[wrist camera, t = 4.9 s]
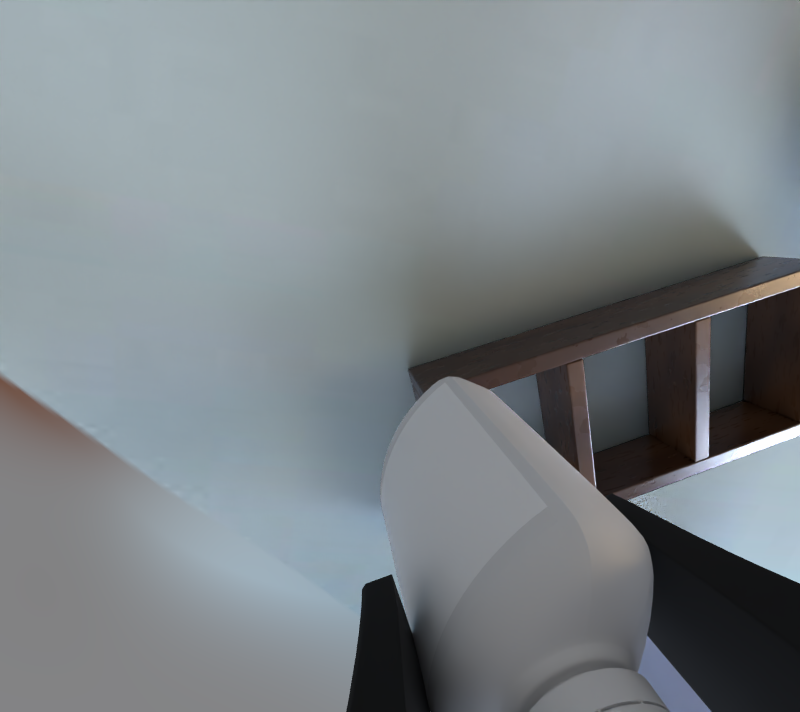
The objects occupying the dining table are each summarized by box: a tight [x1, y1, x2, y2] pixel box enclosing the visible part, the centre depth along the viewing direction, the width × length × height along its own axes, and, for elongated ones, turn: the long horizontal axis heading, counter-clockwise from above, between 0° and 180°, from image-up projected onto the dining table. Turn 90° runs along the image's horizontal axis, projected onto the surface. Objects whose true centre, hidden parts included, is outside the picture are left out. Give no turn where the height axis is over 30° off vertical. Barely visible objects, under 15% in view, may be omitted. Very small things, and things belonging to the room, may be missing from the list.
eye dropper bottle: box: [380, 376, 670, 712], centre depth 9 cm, size 4×6×12 cm
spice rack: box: [408, 257, 800, 500], centre depth 20 cm, size 9×19×3 cm, turn 105°
